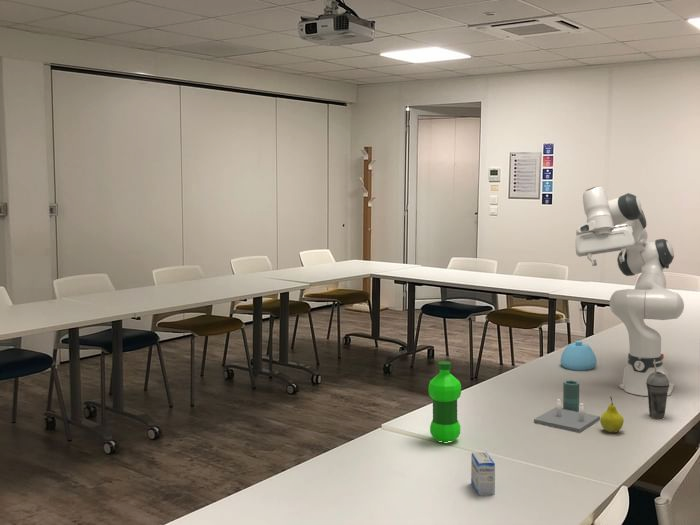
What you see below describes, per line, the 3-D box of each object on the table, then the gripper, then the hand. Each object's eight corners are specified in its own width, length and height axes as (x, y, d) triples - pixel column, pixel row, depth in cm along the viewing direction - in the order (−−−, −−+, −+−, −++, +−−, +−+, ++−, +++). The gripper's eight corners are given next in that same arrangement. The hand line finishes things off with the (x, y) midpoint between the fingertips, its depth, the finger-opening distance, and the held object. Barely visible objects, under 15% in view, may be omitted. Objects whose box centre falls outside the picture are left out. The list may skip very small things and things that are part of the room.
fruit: (606, 426, 235) (607, 391, 234) (627, 431, 231) (627, 395, 229) (596, 432, 231) (597, 395, 229) (617, 437, 226) (617, 399, 224)
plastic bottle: (441, 448, 219) (440, 368, 217) (422, 438, 229) (421, 361, 226) (468, 442, 224) (467, 364, 221) (448, 432, 233) (448, 357, 231)
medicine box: (470, 483, 194) (470, 452, 193) (487, 482, 194) (487, 451, 193) (478, 495, 186) (478, 463, 185) (495, 494, 186) (495, 462, 185)
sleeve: (567, 407, 257) (567, 379, 256) (580, 409, 253) (581, 382, 252) (561, 410, 253) (561, 382, 252) (574, 413, 250) (575, 385, 249)
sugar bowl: (558, 370, 307) (558, 343, 306) (562, 361, 321) (562, 336, 320) (595, 372, 302) (595, 345, 301) (597, 364, 316) (598, 338, 314)
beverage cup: (670, 421, 239) (672, 362, 237) (647, 420, 241) (648, 361, 238) (665, 414, 246) (667, 357, 244) (643, 413, 248) (644, 356, 246)
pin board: (555, 410, 253) (555, 390, 252) (599, 419, 242) (600, 399, 241) (533, 422, 241) (534, 401, 240) (579, 432, 230) (580, 410, 230)
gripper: (630, 226, 261) (638, 261, 256) (572, 235, 266) (579, 270, 260) (631, 219, 255) (640, 255, 250) (572, 229, 260) (579, 264, 255)
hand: (608, 263), depth 255 cm, fingers open, 8 cm apart
